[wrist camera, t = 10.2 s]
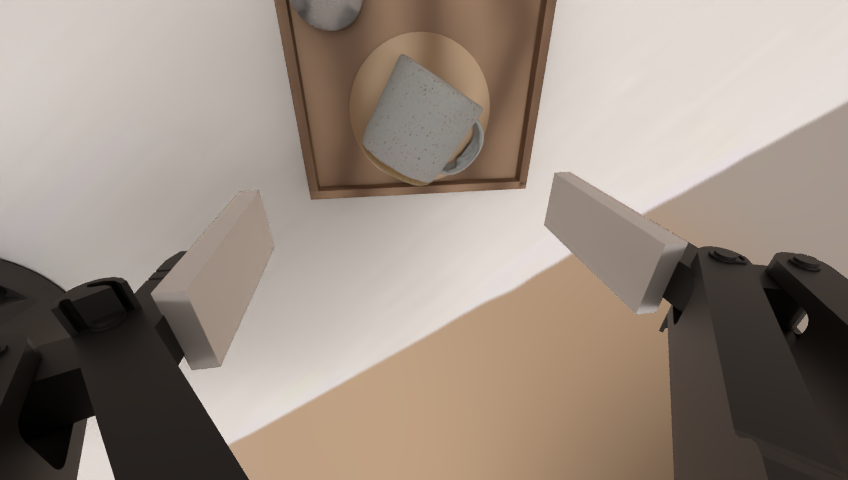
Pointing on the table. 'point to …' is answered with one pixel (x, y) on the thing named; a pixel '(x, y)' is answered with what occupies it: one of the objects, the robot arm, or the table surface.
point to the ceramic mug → (421, 126)
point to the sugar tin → (328, 13)
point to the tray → (443, 56)
